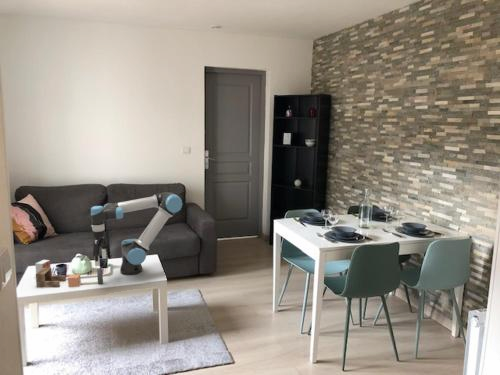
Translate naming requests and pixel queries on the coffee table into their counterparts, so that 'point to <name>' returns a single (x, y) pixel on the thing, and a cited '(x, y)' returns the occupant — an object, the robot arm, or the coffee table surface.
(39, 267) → the small box
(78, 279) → the tethered block
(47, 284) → the wooden toy block stack
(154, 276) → the coffee table surface
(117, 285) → the coffee table surface
